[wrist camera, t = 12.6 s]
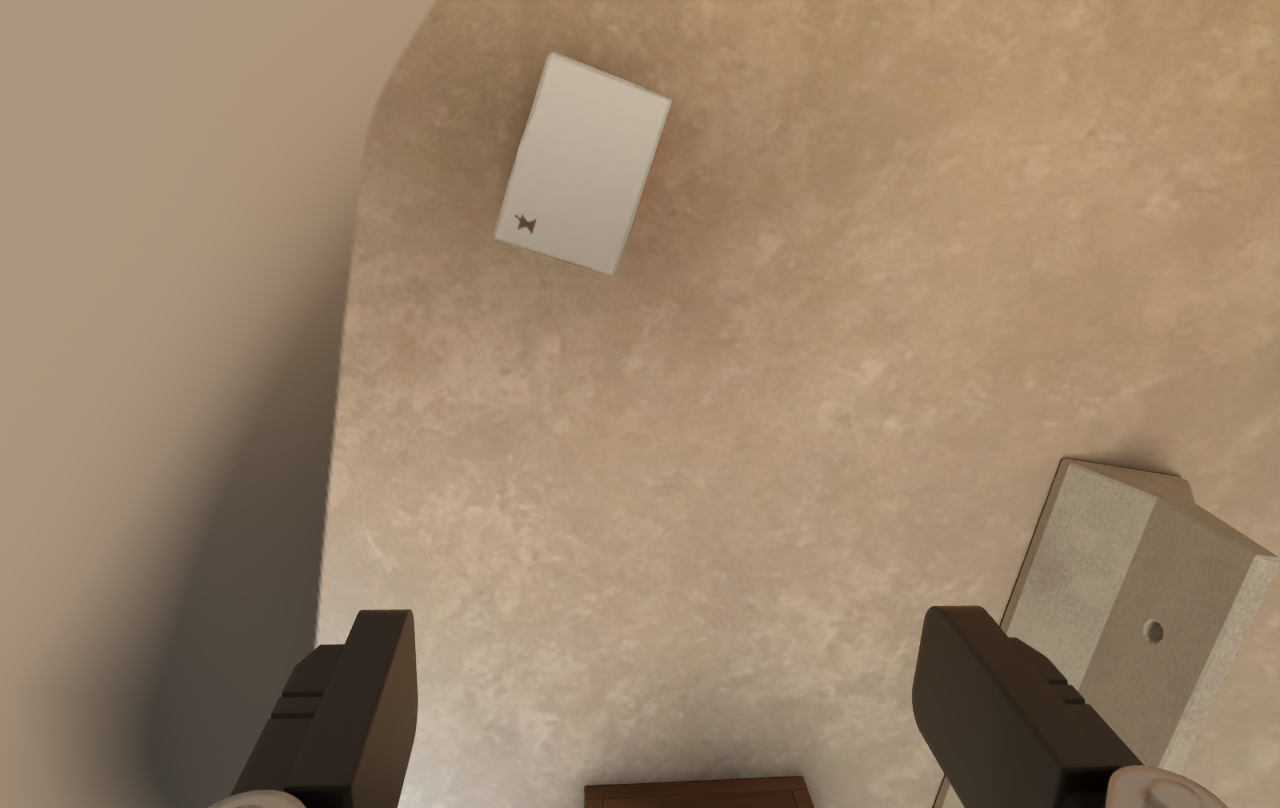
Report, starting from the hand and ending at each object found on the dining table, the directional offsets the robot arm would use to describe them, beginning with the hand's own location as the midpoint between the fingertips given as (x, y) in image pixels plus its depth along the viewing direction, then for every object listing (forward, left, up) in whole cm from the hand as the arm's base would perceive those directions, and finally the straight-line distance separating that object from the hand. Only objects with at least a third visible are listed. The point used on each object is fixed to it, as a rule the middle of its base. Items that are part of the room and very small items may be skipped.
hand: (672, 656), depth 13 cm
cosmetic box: (-1, +6, -28) cm, 29 cm away
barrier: (+26, -23, -28) cm, 44 cm away
